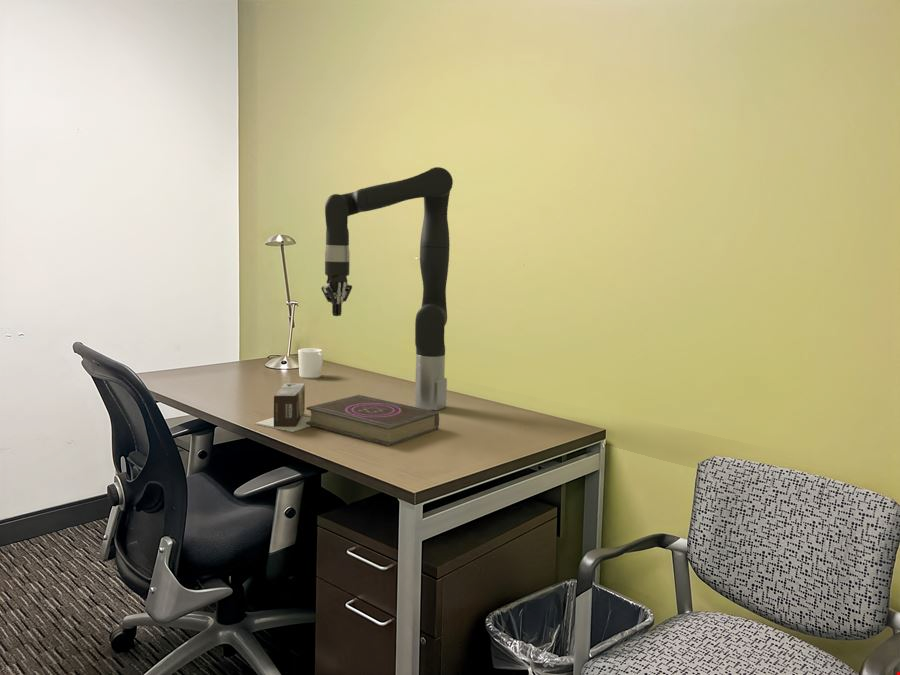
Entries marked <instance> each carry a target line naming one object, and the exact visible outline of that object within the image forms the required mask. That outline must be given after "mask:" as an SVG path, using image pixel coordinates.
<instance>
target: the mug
mask: <svg viewBox="0 0 900 675" xmlns="http://www.w3.org/2000/svg"><path fill="white" fill-rule="evenodd" d="M297 352H298V353H297V354H298V357H297V358H298V371H299V373H298V374H299V378H300V379H306V380H312V379H314V380H315V379H319V378H321V376H322V375H321V374H322V367H323V361H324V356H323V350H322V349H320V348H313V347H312V348H310V347H309V348H300V349H298V350H297Z"/></svg>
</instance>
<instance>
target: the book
mask: <svg viewBox="0 0 900 675" xmlns="http://www.w3.org/2000/svg"><path fill="white" fill-rule="evenodd" d="M305 409H306V411H307V410H308V411H310V415H311V420H310V421H308V422H306V424H308V425H312V426H311V427H316V428H320V429H324V430H328V431H331V432H335V433H338V434H342V435H345V436H346V435H347V436H349V437H353V438H356V439H361V440H365V441H368V442H372V443H375V444H378V445H379V444H380V445H383V446H387V447H390V446H393V445H396V444H399V443H401V442H404V441H408V440H411V439H414V438H416V437H420V436H421V435H425V434H427V433H430V432H433V431H436V430H439V426H440V414H439V412H438V411H436V410H426V409H421V408H417V407H415V406H411V405H408V404H402V403H398V402H393V401H389V400H385V399H380V398H376V397H371V396H366V395H362V394H355V395H351V396H349V397H343V398H340V399H335V400H331V401H327V402H323V403H319V404H314V405H309V406H305Z"/></svg>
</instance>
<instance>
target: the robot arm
mask: <svg viewBox="0 0 900 675" xmlns="http://www.w3.org/2000/svg"><path fill="white" fill-rule="evenodd" d="M453 183H454V180H453V177H452V175H451V172H449V171H448V170H447V169H446V168H444V167H441V166H436V167H431V168H430V169H428V170H426V171H424V172H421V173H419V174H417V175H414V176H411V177H408V178H405V179H401V180H396V181H393V182H392V181H391V182H387V183H382V184H375V185H372V186H367V187H363V188H359V189H357V190H356V191H353V192H347V193H343V194H339V193H334V194H331V195H330V196H328V197H327V199H326V201H325V203H324V204H325V205H324V216H325V226H326V230H325V231H326V232H325V249H324V274H325V276H327V278H326V284H325V285H323V286H321V291H322V293H323V295H324V297H325V299H326V301H327V302H328V303H331V305H332V310H331V313H332V316H334V317H341V316H342V308H343V307H342V306H343V305H342V304H343V303H344V302H346V301H347V300H348V298H349V296H350V293H351V291H352V289H353V285H350V284H349V283H348V282H349V281H348V276H350V266H351V264H350V263H351V262H350V258H351V257H350V256H351V255H350V253H351V252H350V233H349V227H348V220H349V219H348V217H350V216H353V215H356V214H359V213H364V212H369V211H375V210H378V209H382V208H383V209H384V208H386V207H391V206H393V205H395V204H399V203H402V202H405V201H409V200H414V199H420V198H423V206H424V208H423V209H424V210H423V212H424V213H423V222H422V228H421V233H420V234H421V235H420V241H419V242H420V244H419V266H420V275H421V280H422V288H423V289H422V290H423V291H422V300H421V308H419V309H418V311H417V313H416V316H415V324H414V327H415V328H414V330H415V331H414V332H415V334H414V344H415V352H416V353H415V383H414V384H415V385H414V386H415V387H414V388H415V389H414V407H417V408H421V409H426V410H431V411H440V410H442V409H444V408H446V407H447V389H448V386H447V385H448V379H447V377H445V373H446V372H445V368H446V345H445V326H446V325H447V322H448V311H447V310H448V309H447V281H448V275H449V266H450V265H449V263H450V230H449V229H450V228H449V222H448V211H449V210H448V208H449V200H450V194H451V191H452V188H453Z"/></svg>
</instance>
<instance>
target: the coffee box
mask: <svg viewBox="0 0 900 675" xmlns="http://www.w3.org/2000/svg"><path fill="white" fill-rule="evenodd" d="M305 398H306V383H293V382H292V383H289V382H288V383H285V382H284V384H283V385H282V386H281V388H279V390H278V391H277V392H276V394H274V396H273V417H274V427H289V426H296V425H297V424H298V422H299V420H300V419H301V417H302V415H303V414H305V412H306V411H305V409H306V406H305V402H306V400H305Z"/></svg>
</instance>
